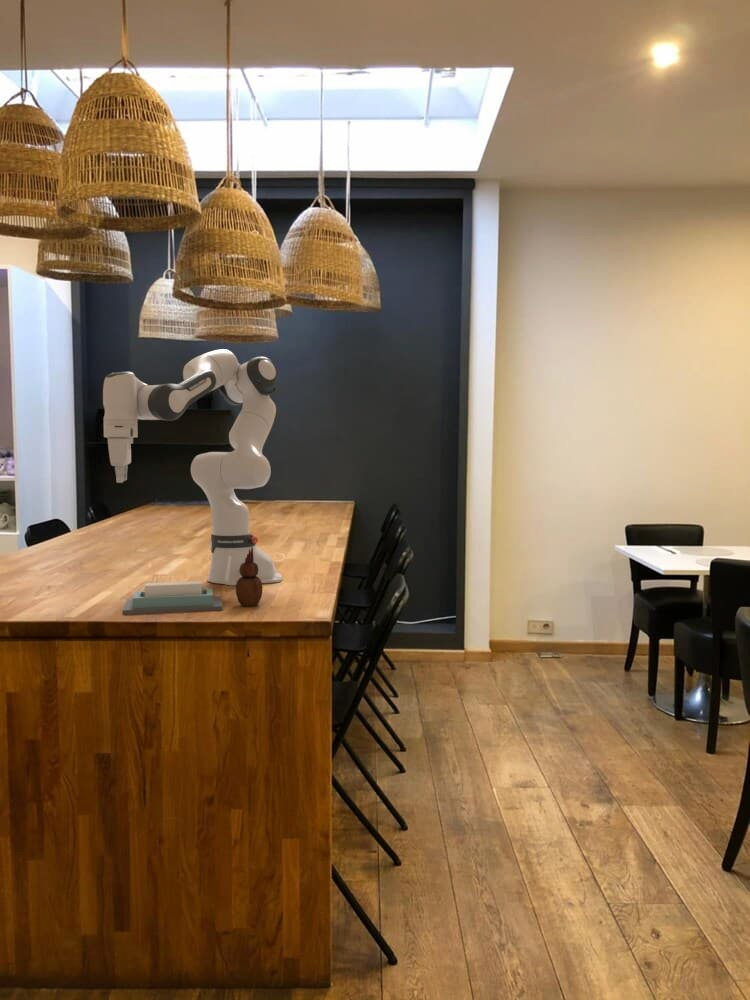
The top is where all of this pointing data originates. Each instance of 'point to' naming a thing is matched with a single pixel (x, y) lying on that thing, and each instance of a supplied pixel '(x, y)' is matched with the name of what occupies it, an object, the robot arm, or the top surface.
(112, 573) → the top surface
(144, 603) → the cradle jig
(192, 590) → the long cream plank
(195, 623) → the top surface
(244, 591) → the wooden figurine
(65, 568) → the top surface
